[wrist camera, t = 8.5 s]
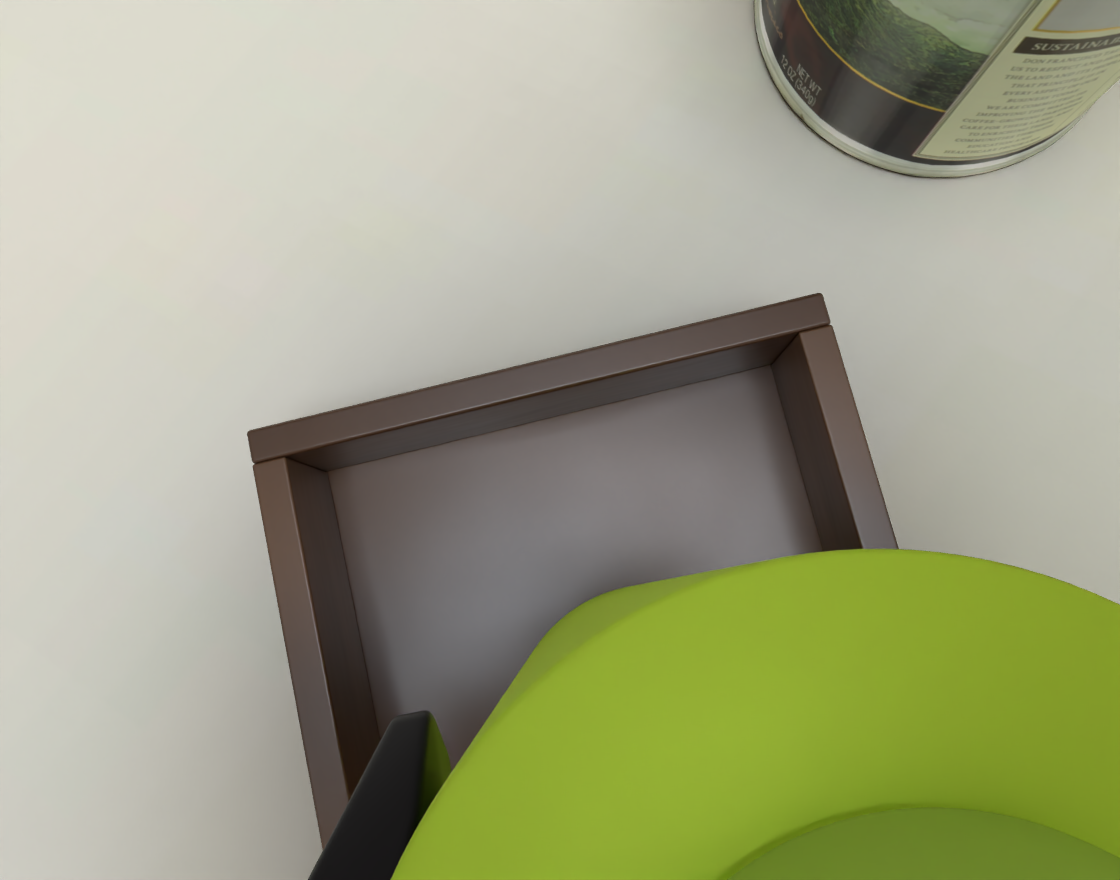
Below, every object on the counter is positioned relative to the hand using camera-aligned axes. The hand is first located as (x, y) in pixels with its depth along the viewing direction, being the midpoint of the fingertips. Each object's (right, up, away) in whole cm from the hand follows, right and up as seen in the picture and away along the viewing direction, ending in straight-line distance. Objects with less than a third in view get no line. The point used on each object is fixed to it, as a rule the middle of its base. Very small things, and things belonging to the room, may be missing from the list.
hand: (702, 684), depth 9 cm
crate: (0, -3, +13) cm, 13 cm away
